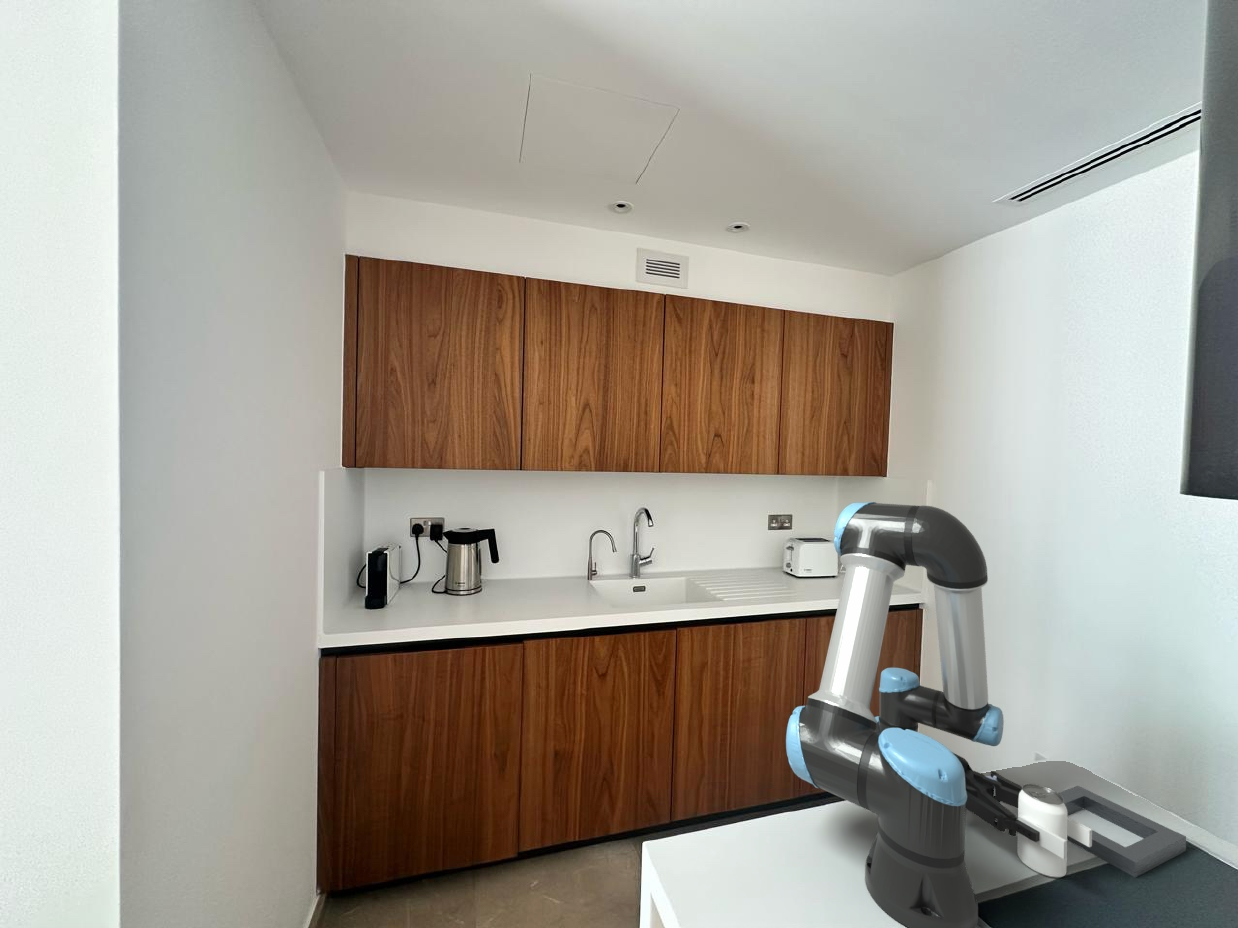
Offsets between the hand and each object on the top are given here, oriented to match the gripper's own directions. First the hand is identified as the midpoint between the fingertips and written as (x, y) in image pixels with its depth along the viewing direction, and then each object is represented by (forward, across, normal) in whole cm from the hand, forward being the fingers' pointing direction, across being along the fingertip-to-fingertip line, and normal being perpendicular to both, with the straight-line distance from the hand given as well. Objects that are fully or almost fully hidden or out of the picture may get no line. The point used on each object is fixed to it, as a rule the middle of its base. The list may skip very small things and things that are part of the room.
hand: (1077, 843), depth 84 cm
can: (-5, 0, -7) cm, 9 cm away
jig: (-6, -20, -7) cm, 22 cm away
